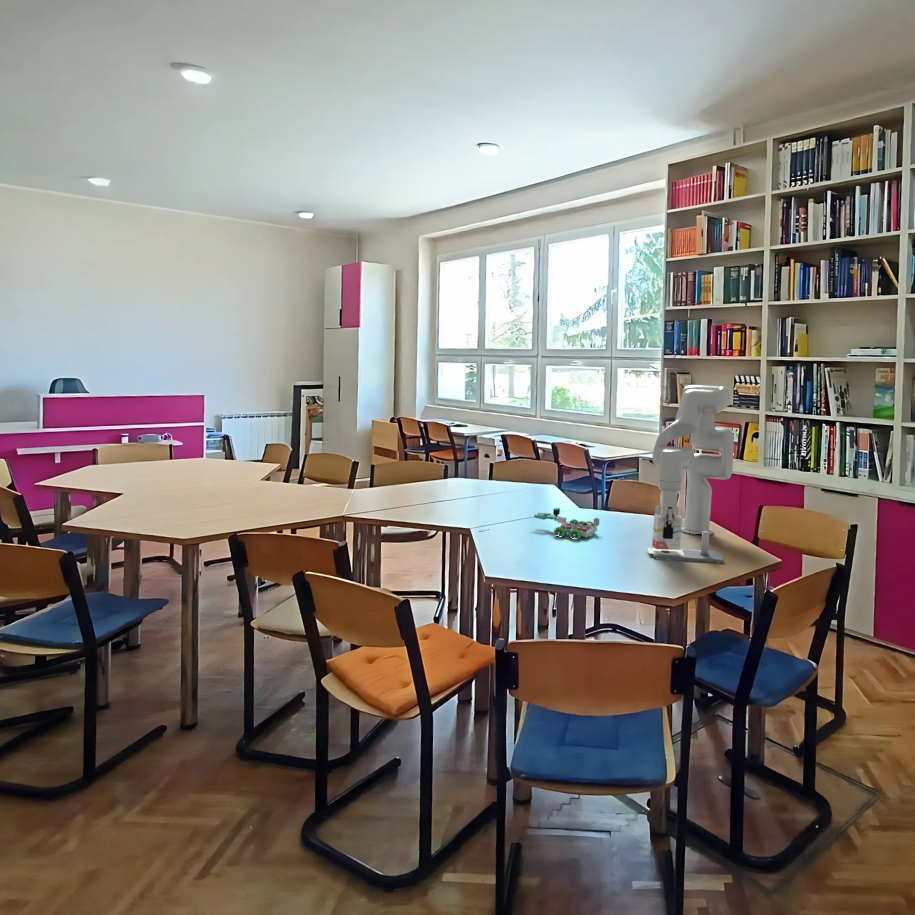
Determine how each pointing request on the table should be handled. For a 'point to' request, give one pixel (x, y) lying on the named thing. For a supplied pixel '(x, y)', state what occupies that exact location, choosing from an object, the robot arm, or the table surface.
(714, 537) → the table surface
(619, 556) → the table surface
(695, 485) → the robot arm
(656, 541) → the ink cartridge box
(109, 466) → the table surface
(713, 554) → the plate
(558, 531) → the robot kit
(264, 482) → the table surface
